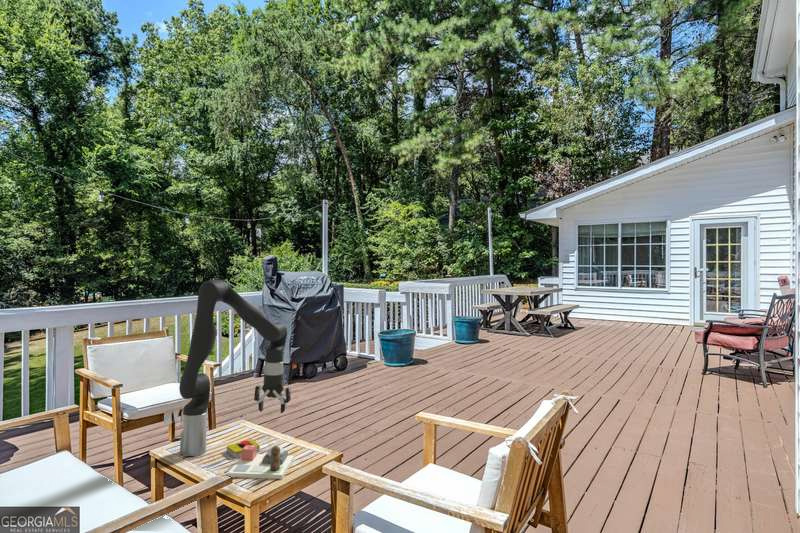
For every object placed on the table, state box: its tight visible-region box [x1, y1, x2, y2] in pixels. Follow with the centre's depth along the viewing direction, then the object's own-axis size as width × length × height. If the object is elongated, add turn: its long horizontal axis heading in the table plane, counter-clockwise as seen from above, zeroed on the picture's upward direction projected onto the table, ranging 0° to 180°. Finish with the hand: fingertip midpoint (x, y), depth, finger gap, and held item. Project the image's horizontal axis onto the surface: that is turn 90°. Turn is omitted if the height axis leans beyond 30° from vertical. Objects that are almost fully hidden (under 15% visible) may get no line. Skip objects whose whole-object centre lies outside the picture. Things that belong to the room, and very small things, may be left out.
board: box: [227, 450, 295, 480], centre depth 175 cm, size 21×17×4 cm
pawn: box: [270, 445, 280, 471], centre depth 171 cm, size 4×4×9 cm
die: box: [242, 445, 258, 461], centre depth 180 cm, size 4×4×5 cm
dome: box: [266, 445, 285, 457], centre depth 179 cm, size 6×6×4 cm
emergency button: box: [221, 439, 264, 461], centre depth 189 cm, size 9×4×15 cm
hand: (271, 411), depth 178 cm, fingers open, 8 cm apart
